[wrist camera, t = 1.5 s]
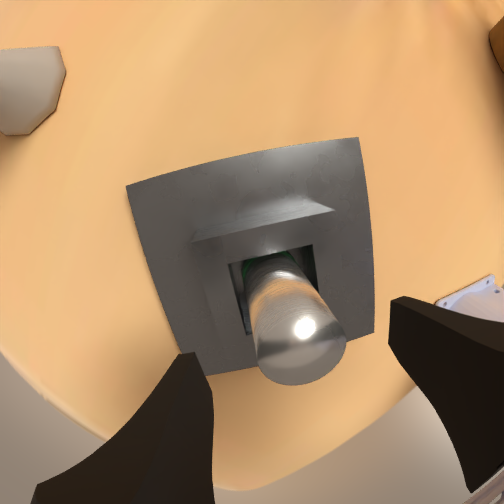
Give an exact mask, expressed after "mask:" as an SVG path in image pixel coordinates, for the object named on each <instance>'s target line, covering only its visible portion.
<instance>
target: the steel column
mask: <svg viewBox="0 0 504 504" xmlns="http://www.w3.org/2000/svg"><path fill="white" fill-rule="evenodd" d="M242 279H243V285H244V289H245V292H246V297H247V303H248V309H249V315H250V320H251V326H252V332H253V338H254V343H255V349H256V354H257V360H258V365H259V367H260V369H261V371H262V373H263V374H264V375H265V376H266V377H267V378H269V379H270V380H272V381H274V382H276V383H279V384H283V385H303V384H307V383H310V382H313V381H315V380H318V379H320V378H321V377H323V376H325V375H326V374H328V373H329V372H330V371H331V370H332V369H333V368H334V367H335V366H336V365H337V364H338V363H339V361H340V360H341V358H342V356H343V354H344V351H345V348H346V335H345V331H344V329H343V327H342V326H341V325H340V323H339V322H338V320H337V319H336V318H335V316H334V315H333V313H332V312H331V311H330V309H329V308H328V306H327V305H326V304H325V302H324V301H323V299H322V298H321V297H320V295H319V294H318V292H317V291H316V290H315V288H314V287H313V285H312V284H311V283H310V281H309V280H308V279H307V277H306V276H305V275H304V273H303V272H302V270H301V269H300V267H299V265H298V264H297V262H296V261H295V259H294V258H293V257H292V256H291V254H290V253H288V252H287V251H286V250H285V251H280V252H276V253H272V254H267V255H263V256H259V257H255V258H250V259H247V260H246V261H245V263H244V266H243V269H242Z"/></svg>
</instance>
